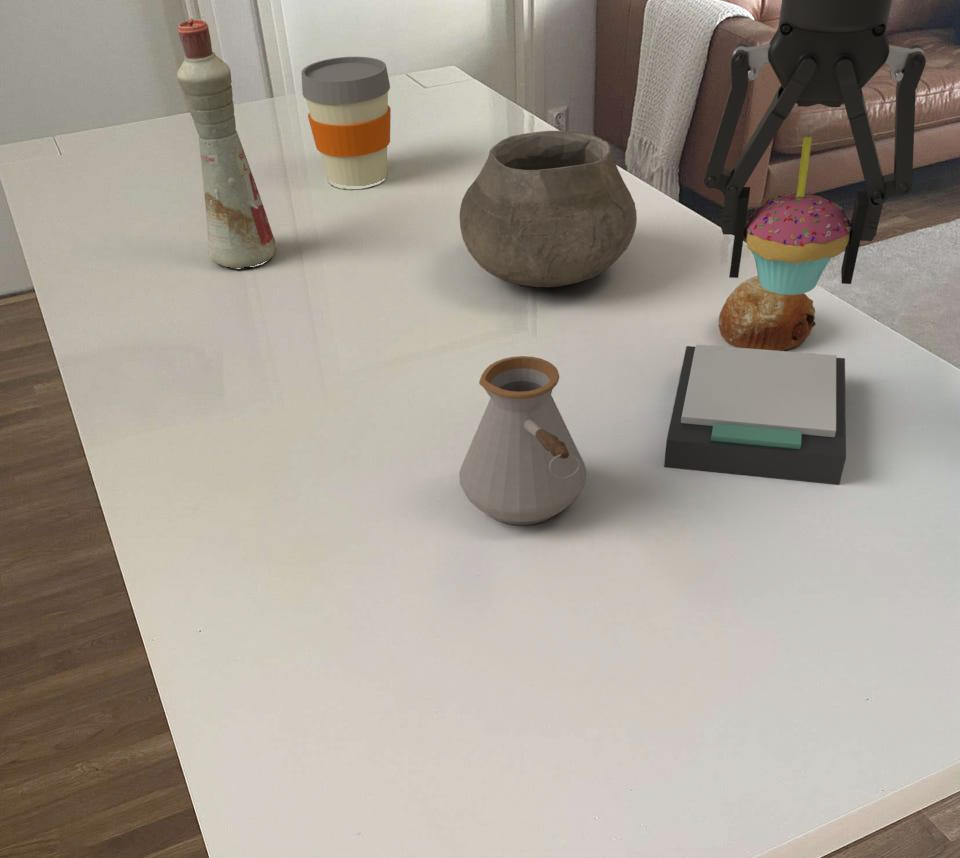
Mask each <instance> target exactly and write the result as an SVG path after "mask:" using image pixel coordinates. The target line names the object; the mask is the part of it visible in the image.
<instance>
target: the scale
mask: <svg viewBox="0 0 960 858" xmlns="http://www.w3.org/2000/svg"><path fill="white" fill-rule="evenodd" d="M682 360H683V361H682V364H681V365H682V366H681V370H680V375H679V379H678V383H677V389H676V394H675V399H674V403H673V408H672V411H671V412H672V413H671V416H670V417H671V418H670V422H669V427H668V432H667V437H666V443H665V452H664V460H663V462H664V463H663V467H665V468H674V469H682V470H683V469H685V470H693V471H694V470H695V471H702V472H712V473H713V472H714V473H721V474H733V475H743V476H751V477H762V478H771V479H781V480H791V481H800V482H810V483H820V484H822V483H823V484H829V485H840V483H841V479H842V476H843V471H844V468H845V464H846V459H847V426H846V425H847V422H846V421H847V420H846V419H847V418H846V416H847V415H846V413H847V412H846V410H847V409H846V406H847V405H846V358H844V357H837V355H836V354H825V353H812V352H800V351H799V352H797V351H787V350H783V351H775V350H762V349H749V348H738V347H736V346H721V345H711V344H709V345H708V344H695V346H692V345H687V346H685V352H684V355H683V359H682Z"/></svg>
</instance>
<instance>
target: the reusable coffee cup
mask: <svg viewBox="0 0 960 858" xmlns="http://www.w3.org/2000/svg"><path fill="white" fill-rule="evenodd" d="M301 88H302V89H301V90H302V96H303V98H304V99H305V100H306V104H307V108H308V112H309V113H308V115H307V118H308V122H309V126H310V130H311V133H312V137H313V140H314V145H315V148H316V150H317V151H318V152H319V153H320V156H321V160H322V163H323V164H322V165H323V168H324V171H325V175H326V178H328V179H327V181H328V180H330V181H331V182H333V183H336V184H340V185H346V186H366V185H370V184H374V183H377V182H379V181H382V180H383V179H385V178H386V177H387V178H388V146H389V145H390V143H391V107H390V105H388V104H389V91H390V89H391V84H390V79H389V73H388V67H387V64H386V63H385V62H384V61H383V60H382V59H381V60H380V59H378V58H373V57H369V56H341V57H333V58H328V59H323V60H318V61H316V62H313V63H311V64H310V63H309V64H308V65H307V66H305V67H304V68H303V69H302V70H301Z"/></svg>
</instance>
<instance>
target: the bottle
mask: <svg viewBox="0 0 960 858" xmlns="http://www.w3.org/2000/svg"><path fill="white" fill-rule="evenodd" d="M177 27H178V28H177V33H178V37H179V40H180V43H181V46H182V49H183V52H184V54H185V56H184V60H183V62H182V63H181V65H180V66H179V68H178V71H177V73H176V78H177V81H178V84H179V87H180V90H181V91H182V93H183V97H184V100H185V102H186V105H187V106H188V111H189V113H190V116H191V118H192V120H193V124H194V127H195V129H196V132H197V135H198V146H199V155H200V164H201V174H202V185H203V194H204V205H205V215H206V228H207V241H208V242H207V247H208V257H209V260H210V261H211V262H213V263H215V264H217V265H219V266H222V267H225V268H228V267H230V268H229V269H235V268H242V269H245V268H244V267H250V266H255V265H257V264H261V263H263V262H265V261H268V260H269V259H270V260H272V259H273V257H272V256H274V254H275V252H276V248H277V242H276V239H275V237H274V234H273V231H272V228H271V225H270V222H269V219H268V215H267V212H266V210H265V207H264V204H263V200H262V198H261V195H260V192H259V189H258V187H257V183H256V181H255V177H254V175H253V172H252V170H251V166H250V164H249V161H248V159H247V155H246V153H245V149H244V147H243V145H242V142H241V138H240V135H239V133H238V130H237V125H236V117H235V103H234V100H233V98H234V96H233V95H234V94H233V85H232V73H231V68H230V66H229V65H228V64H227V63H226V62H225V61H224V60H223V59H222V58H221V57H219V56H217V55H216V52H214V51H213V47H212V39H211V35H210V28H209V25H208V23H207V22H206V21H205V20H202V19H194V18H192V17H190V18H188V20H186V21H183V22H180V23H178V26H177ZM271 258H272V259H271ZM270 260H269V261H270ZM269 261H268V262H269Z"/></svg>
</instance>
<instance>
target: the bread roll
mask: <svg viewBox="0 0 960 858" xmlns="http://www.w3.org/2000/svg"><path fill="white" fill-rule="evenodd" d="M813 303H814V300H812V299H811V298H810V297H808V296H807V294H806V293H803V294H797V295H783V294H777V293H773V292H770V291H768V290H766V289H764V288H763V287H762V286H761V285H760V283H759V279H758V275H755V276H752V277H750V278H748V279H746V280H745V281H742V282H741V283H739V285H738V286H737V287H735V289H734V290H733V291H732V292H731V293H730V294H729V295H728V297H727V298H726V300H725V303H724V304H723V305H722V308H721V309H720V312H719V315H718V329H719V332H720V336H721V337H722V338H723V340H724V341H725V342H726V343H727V342H728V343H727V344H730V345H732V346H733V347H736V348H738V347H739V348H749V349H762V350H775V351H787V350H791V349H794V348H796V347H798V346H800V345H801V344H802V343H803V342H805V340H807V338H808V336H809V335H810V334H811V332H812V330H813V328H814V327H815V326H816V321H815V319H816V317H815V314H816V309H815V307H814V304H813ZM793 347H794V348H793Z"/></svg>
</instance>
